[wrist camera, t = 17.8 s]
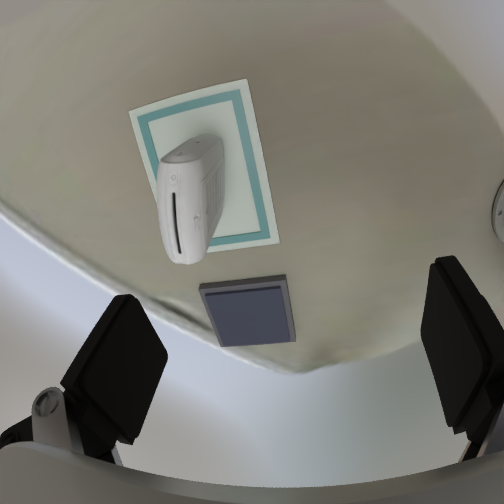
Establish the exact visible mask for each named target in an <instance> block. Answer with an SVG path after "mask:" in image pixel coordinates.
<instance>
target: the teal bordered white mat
mask: <svg viewBox="0 0 504 504" xmlns="http://www.w3.org/2000/svg"><path fill="white" fill-rule="evenodd" d="M129 115H130V118H131V122H132V125H133V129H134V132H135V136H136V139H137V143H138V146H139V149H140V153H141V156H142V159H143V163H144V166H145V169H146V172H147V175H148V178H149V182H150V185H151V188H152V191H153V194H154V197H155V200H156V203H157V171H158V166H159V161H160V159H161V158H162V157H163V156H165V155H166V154H168V153H169V152H170V151H172V150H173V149H175V148H176V147H178V146H179V145H181V144H182V143H184V142H185V141H187V140H188V139H190V138H195V137H196V136H198V135H200V134H204V133H208V134H212V135H215V136H216V137H218V138H221V139H222V143H223V152H224V204H223V212H222V216H221V218H220V221H219V223H218V226H217V228H216V230H215V233H214V235H213V238H212V240H211V242H210V245H209V247H208V250H207V253H209V252H216V251H224V250H231V249H239V248H246V247H254V246H261V245H269V244H277V243H280V240H279V235H278V229H277V224H276V219H275V213H274V208H273V203H272V197H271V192H270V187H269V182H268V177H267V172H266V167H265V162H264V157H263V152H262V147H261V142H260V137H259V132H258V127H257V122H256V118H255V113H254V108H253V104H252V99H251V94H250V90H249V85H248V81H247V79H242V80H237V81H233V82H228V83H224V84H219V85H215V86H211V87H207V88H203V89H199V90H195V91H191V92H188V93H184V94H181V95H177V96H174V97H170V98H167V99H164V100H161V101H157V102H154V103H151V104H148V105H145V106H142V107H139V108H137V109H134V110H131V111H129Z"/></svg>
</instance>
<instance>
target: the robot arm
mask: <svg viewBox="0 0 504 504" xmlns="http://www.w3.org/2000/svg"><path fill="white" fill-rule="evenodd" d="M492 222H493V228H494V231H495V234H496V235H497V237H498V238H499V239H500V241H501V242H502V243H504V182H503V184H502V185H501V187H500V189H499V191H498V193H497V196H496V199H495V202H494V207H493V214H492ZM421 339H422V342H423V345H424V347H425V351H426V354H427V357H428V360H429V363H430V366H431V369H432V372H433V375H434V379H435V382H436V386H437V389H438V392H439V396H440V400H441V404H442V407H443V411H444V415H445V419H446V423H447V425H448V427H453V431H454V434H458V433H462V432H464V431H466V433H467V438H468V440H469V442H468V444H467V446H466V448H465V450H464V452H463V454H462V456H461V458H460V459H459V461H458V463H455V464H452V465H448V466H445V467H441V468H438V469H433V470H429V471H425V472H420V473H416V474H411V475H406V476H401V477H395V478H390V479H384V480H378V481H372V482H365V483H357V484H348V485H337V486H324V487H303V488H266V487H244V486H231V485H220V484H211V483H203V482H196V481H189V480H183V479H177V478H171V477H166V476H161V475H156V474H151V473H147V472H143V471H138V470H134V469H130V468H126V467H123V464H122V461H121V459H120V456H119V453H118V451H117V448H116V445H115V443H116V441H117V440H118V441H119V442H120V443H124V444H130V445H133V442H134V440H135V438H137V437H138V436H139V434H140V431H141V429H142V426H143V423H144V420H145V418H146V415H147V412H148V410H149V407H150V404H151V402H152V399H153V396H154V394H155V391H156V388H157V386H158V383H159V381H160V378H161V376H162V373H163V370H164V368H165V365H166V363H167V360H168V354H167V351H166V349H165V347H164V345H163V344H162V342H161V340H160V338H159V337H158V335H157V333H156V331H155V330H154V328H153V326H152V324H151V322H150V320H149V319H148V317H147V315H146V313H145V311H144V309H143V307H142V306H141V304H140V302H139V300H138V299H137V298H135V297H134V296H133V295H131V294H125V295H117V296H115V297H114V298H113V300H112V301H111V303H110V304H109V306H108V307H107V309H106V310H105V312H104V313H103V315H102V316H101V318H100V319H99V321H98V322H97V324H96V325H95V327H94V328H93V330H92V332H91V333H90V334H89V336H88V338H87V339H86V341H85V342H84V344H83V346H82V347H81V349H80V350H79V352H78V354H77V355H76V357H75V359H74V360H73V362H72V363H71V365H70V367H69V369H68V370H67V372H66V374H65V375H64V377H63V379H62V380H61V382H60V384H61V385H62V386H63V387H64V388H65V391H64V393H63V392H62V391H61V390H60V389H59V388H57V387H50V388H47V389H45V390H43V391H42V392H41V393H40V394H39V395H38V396H37V397H36V399H35V400H34V402H33V405H32V415H31V416H29V417H28V418H26V419H24V420H22V421H21V422H19V423H17V424H15V425H13V426H11V427H10V428H8V429H7V430H5V431H4V432H3V433H2V434H1V436H0V504H504V330H503V328H502V326H501V324H500V322H499V321H498V319H497V317H496V316H495V314H494V312H493V310H492V309H491V307H490V305H489V304H488V302H487V301H486V299H485V298H484V297H483V295H481V294H480V293H479V291H478V289H477V288H476V286H475V285H474V283H473V282H472V280H471V279H470V277H469V276H468V274H467V273H466V271H465V270H464V268H463V267H462V265H461V264H460V263H459V261H458V260H457V258H456V257H455V256H453V255H451V256H445V257H439V258H436V260H435V263H433V264H431V265H430V270H429V278H428V286H427V293H426V300H425V306H424V312H423V318H422V324H421Z"/></svg>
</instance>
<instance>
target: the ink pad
mask: <svg viewBox="0 0 504 504" xmlns="http://www.w3.org/2000/svg"><path fill="white" fill-rule="evenodd" d="M198 290H199V292H200V295H201V298H202V300H203V303H204V306H205V308H206V311H207V313H208V316H209V318H210V321H211V324H212V326H213V329H214V331H215V334H216V336H217V339H218V341H219V343H220V346H221V347H231V346H248V345H262V344H274V343H286V342H296V335H295V328H294V322H293V316H292V310H291V304H290V298H289V292H288V286H287V280H286V275H279V276H270V277H262V278H253V279H244V280H235V281H226V282H216V283H207V284H200V286H199V289H198Z"/></svg>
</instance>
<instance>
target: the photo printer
mask: <svg viewBox="0 0 504 504" xmlns="http://www.w3.org/2000/svg"><path fill="white" fill-rule="evenodd" d="M223 204H224V152H223V143H222V139H221V138H218V137H216V136H215V135H212V134H208V133H204V134H200V135H198V136H196V137H195V138H190V139H188V140H187V141H185V142H184V143H182V144H181V145H179V146H178V147H176V148H175V149H173V150H172V151H170V152H169V153H168V154H166V155H165V156H163V157H162V158H161V159H160V161H159V166H158V171H157V208H158V218H159V225H160V231H161V236H162V240H163V244H164V247H165V250H166V252H167V254H168V256H169V258H170V259H171V260H172V261H173V262H174V263H184V264H187V265H189V264H193V263H196V262H198V261H200V260H201V259H202V258H203V257H204V256H205V255H206V253H207V250H208V247H209V245H210V242H211V240H212V238H213V235H214V233H215V230H216V228H217V226H218V223H219V221H220V218H221V216H222V212H223Z"/></svg>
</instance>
